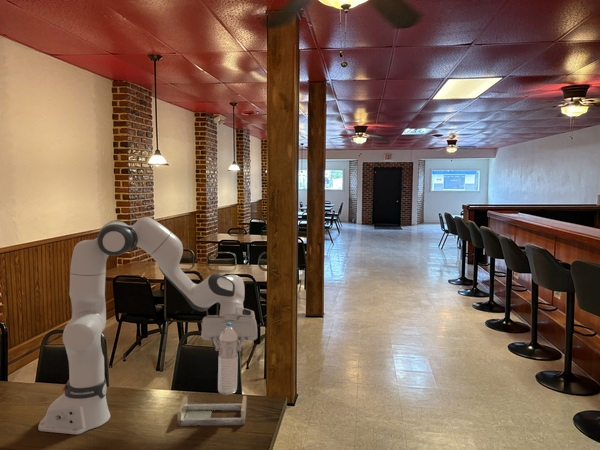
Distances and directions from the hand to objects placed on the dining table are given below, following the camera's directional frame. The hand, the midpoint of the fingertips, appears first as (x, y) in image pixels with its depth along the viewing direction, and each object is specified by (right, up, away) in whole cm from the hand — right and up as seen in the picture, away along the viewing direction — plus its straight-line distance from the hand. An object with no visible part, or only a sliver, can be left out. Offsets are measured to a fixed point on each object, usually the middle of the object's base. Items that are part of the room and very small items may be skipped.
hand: (228, 350), depth 159 cm
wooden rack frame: (-6, -25, +3) cm, 25 cm away
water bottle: (-1, -15, +2) cm, 16 cm away
